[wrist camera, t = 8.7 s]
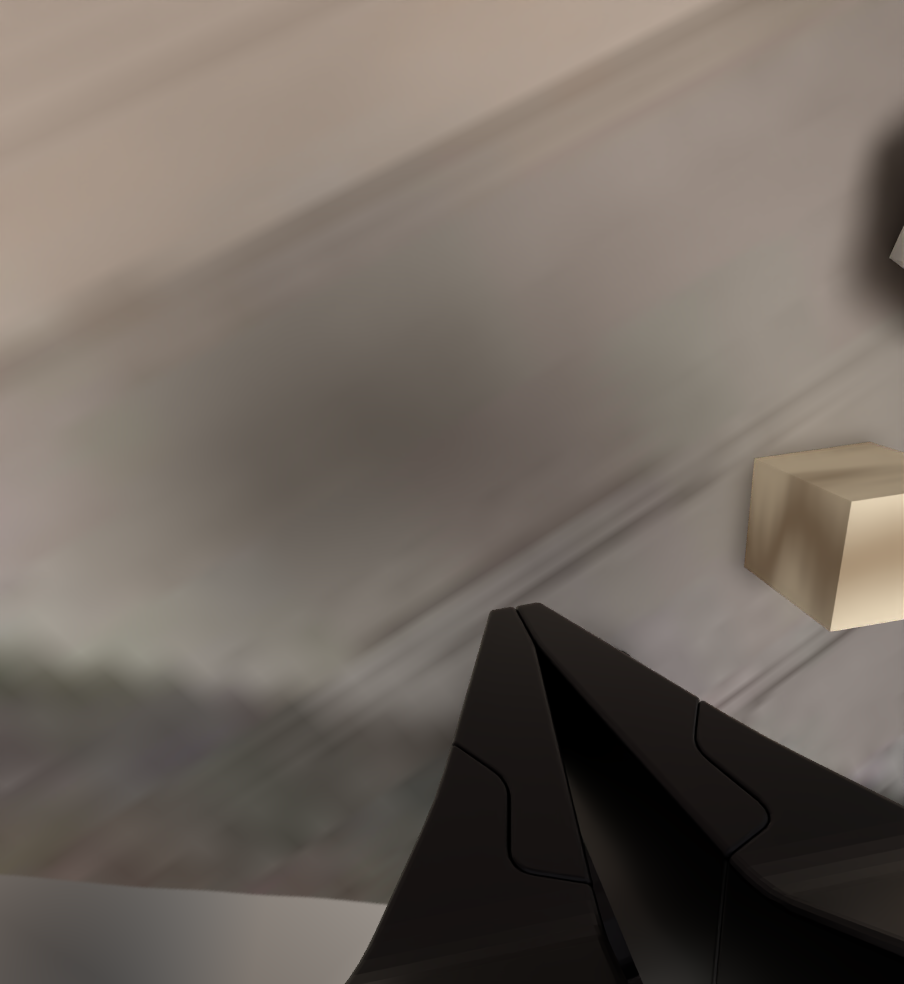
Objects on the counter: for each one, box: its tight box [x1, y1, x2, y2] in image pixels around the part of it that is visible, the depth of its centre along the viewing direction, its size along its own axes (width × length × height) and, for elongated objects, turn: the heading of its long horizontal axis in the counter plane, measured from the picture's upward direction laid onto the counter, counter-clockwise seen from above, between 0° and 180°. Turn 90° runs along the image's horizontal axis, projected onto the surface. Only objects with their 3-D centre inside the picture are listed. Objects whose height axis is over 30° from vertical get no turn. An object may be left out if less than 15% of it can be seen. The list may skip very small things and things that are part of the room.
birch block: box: [744, 442, 904, 632], centre depth 21 cm, size 5×5×5 cm
